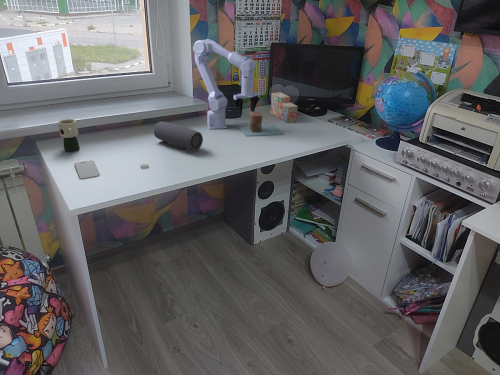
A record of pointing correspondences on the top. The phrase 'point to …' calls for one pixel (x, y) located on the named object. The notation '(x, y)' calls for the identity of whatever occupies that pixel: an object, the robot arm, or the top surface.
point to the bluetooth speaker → (178, 136)
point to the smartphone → (86, 169)
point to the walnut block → (255, 121)
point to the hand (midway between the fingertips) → (246, 112)
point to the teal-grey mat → (262, 131)
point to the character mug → (69, 134)
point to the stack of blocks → (283, 107)
